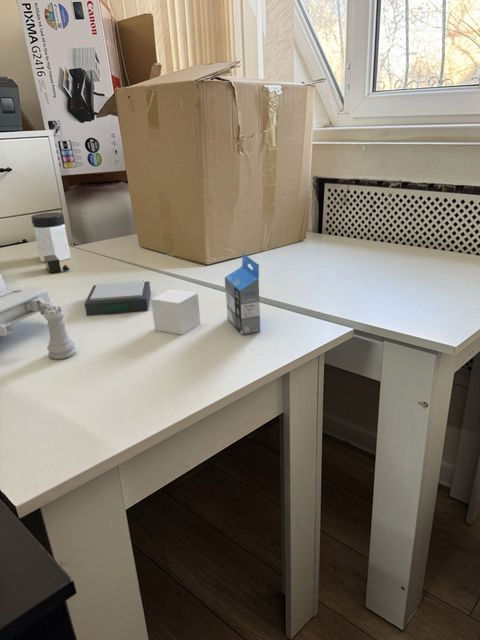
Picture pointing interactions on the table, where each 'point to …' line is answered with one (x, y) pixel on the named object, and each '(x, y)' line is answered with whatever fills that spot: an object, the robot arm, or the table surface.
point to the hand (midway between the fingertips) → (30, 319)
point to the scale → (118, 297)
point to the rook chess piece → (58, 335)
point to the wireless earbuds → (54, 264)
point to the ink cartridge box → (244, 297)
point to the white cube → (176, 311)
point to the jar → (51, 235)
